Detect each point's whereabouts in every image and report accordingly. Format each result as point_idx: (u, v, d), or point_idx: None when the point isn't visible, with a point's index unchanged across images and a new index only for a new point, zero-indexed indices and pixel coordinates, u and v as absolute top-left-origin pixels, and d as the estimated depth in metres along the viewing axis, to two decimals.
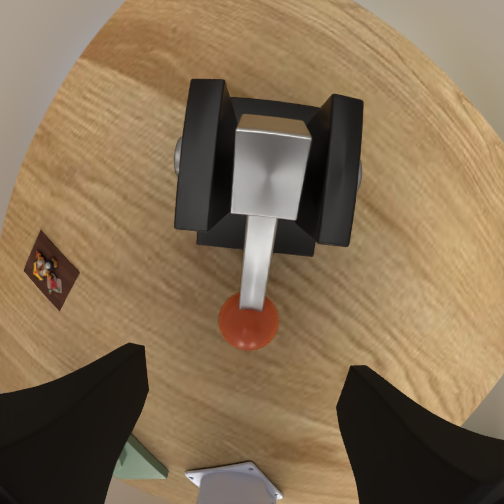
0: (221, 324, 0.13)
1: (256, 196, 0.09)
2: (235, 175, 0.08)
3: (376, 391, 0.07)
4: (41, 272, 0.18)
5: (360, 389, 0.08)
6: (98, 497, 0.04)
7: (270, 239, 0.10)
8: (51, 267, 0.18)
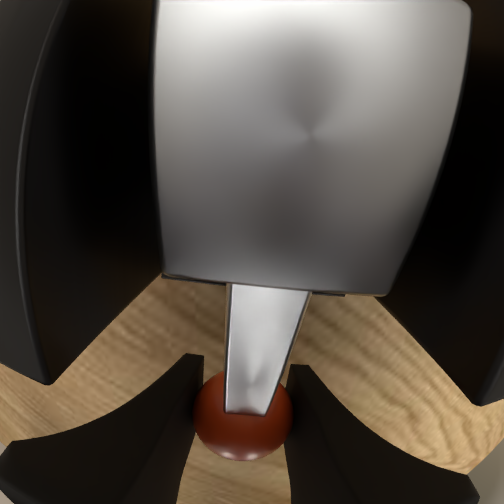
0: (196, 427, 0.07)
1: (255, 219, 0.02)
2: (161, 130, 0.02)
3: (305, 393, 0.07)
4: None
5: (295, 389, 0.08)
6: None
7: (292, 323, 0.04)
8: None
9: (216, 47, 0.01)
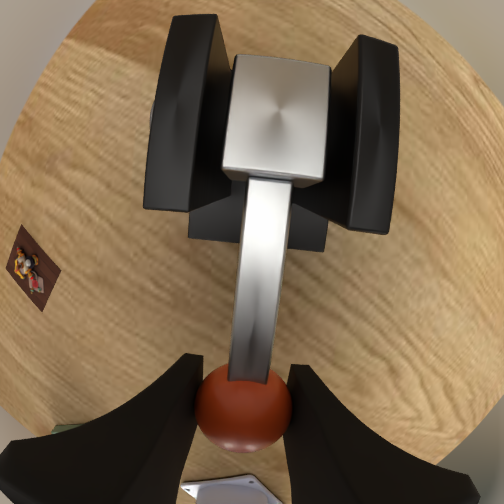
0: (198, 407, 0.07)
1: (262, 138, 0.06)
2: (232, 108, 0.05)
3: (305, 393, 0.07)
4: (22, 270, 0.16)
5: (295, 389, 0.08)
6: None
7: (281, 235, 0.07)
8: (31, 264, 0.15)
9: (251, 86, 0.05)
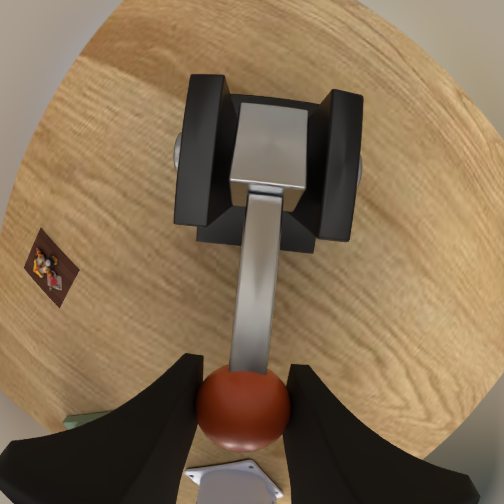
0: (200, 400, 0.07)
1: (259, 160, 0.08)
2: (238, 139, 0.08)
3: (305, 393, 0.07)
4: (41, 269, 0.18)
5: (295, 389, 0.08)
6: None
7: (275, 236, 0.08)
8: (51, 264, 0.18)
9: (251, 124, 0.08)
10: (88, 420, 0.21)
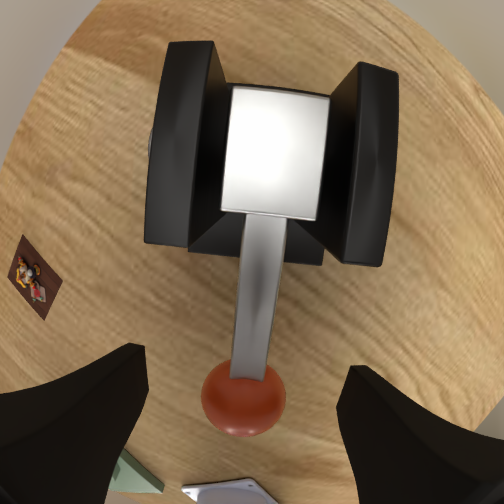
0: (205, 400, 0.08)
1: (258, 181, 0.06)
2: (229, 149, 0.06)
3: (376, 391, 0.07)
4: (24, 279, 0.16)
5: (360, 389, 0.08)
6: (98, 497, 0.04)
7: (276, 263, 0.07)
8: (33, 274, 0.15)
9: (248, 124, 0.06)
10: None
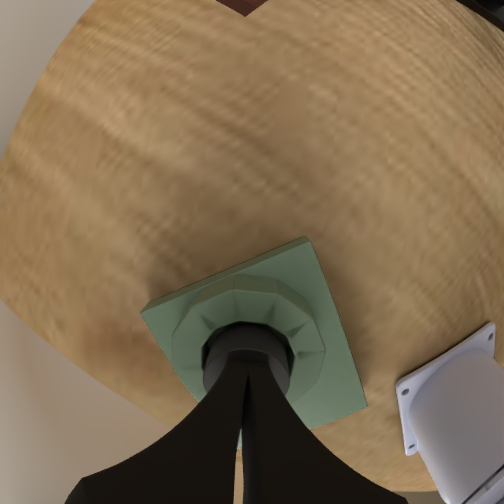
0: None
1: None
2: None
3: (252, 390, 0.07)
4: None
5: (247, 386, 0.08)
6: None
7: None
8: None
9: None
10: (239, 271, 0.12)
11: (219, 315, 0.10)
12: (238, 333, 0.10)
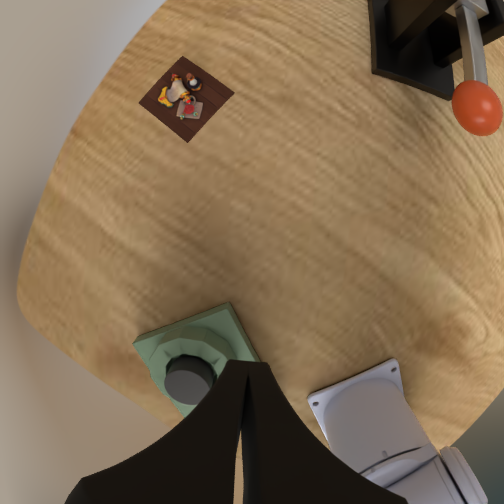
0: (468, 90, 0.09)
1: None
2: None
3: (252, 390, 0.07)
4: (172, 97, 0.17)
5: (247, 386, 0.08)
6: None
7: (478, 27, 0.07)
8: (198, 84, 0.16)
9: None
10: (187, 323, 0.19)
11: (173, 350, 0.17)
12: (183, 361, 0.17)
